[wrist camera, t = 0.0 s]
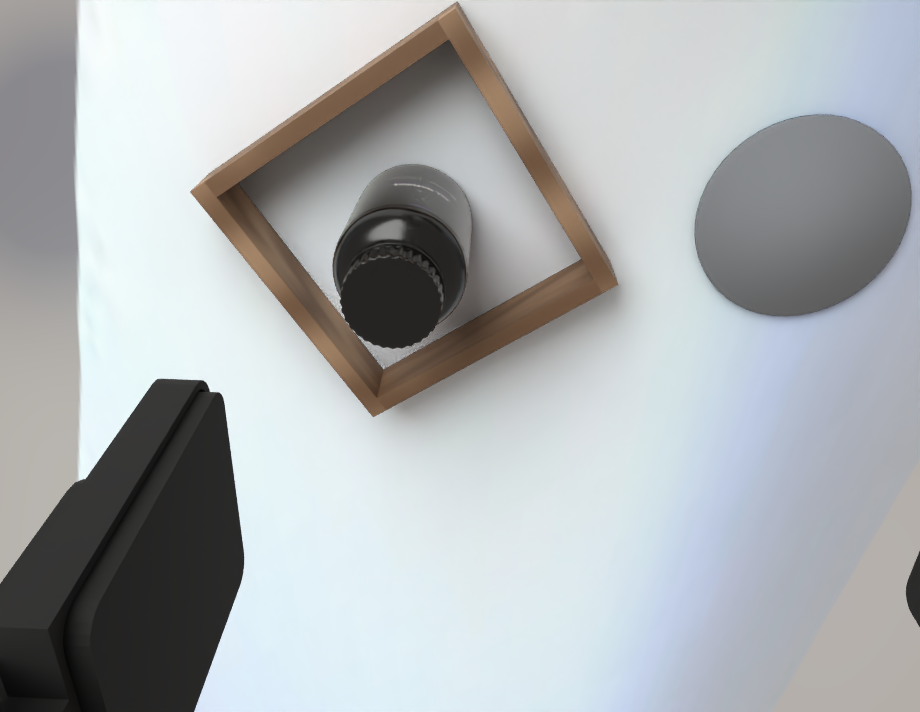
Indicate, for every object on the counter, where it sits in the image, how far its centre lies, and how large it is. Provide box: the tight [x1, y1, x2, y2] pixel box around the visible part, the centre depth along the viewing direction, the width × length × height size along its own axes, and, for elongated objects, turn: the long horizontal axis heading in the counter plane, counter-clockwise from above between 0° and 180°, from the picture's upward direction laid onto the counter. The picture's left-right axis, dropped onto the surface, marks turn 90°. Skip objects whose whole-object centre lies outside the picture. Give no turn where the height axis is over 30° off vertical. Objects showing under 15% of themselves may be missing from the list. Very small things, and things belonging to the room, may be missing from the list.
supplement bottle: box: [333, 164, 472, 349], centre depth 42 cm, size 7×7×12 cm
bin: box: [190, 2, 618, 417], centre depth 46 cm, size 17×17×4 cm
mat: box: [695, 115, 911, 316], centre depth 47 cm, size 12×12×1 cm
